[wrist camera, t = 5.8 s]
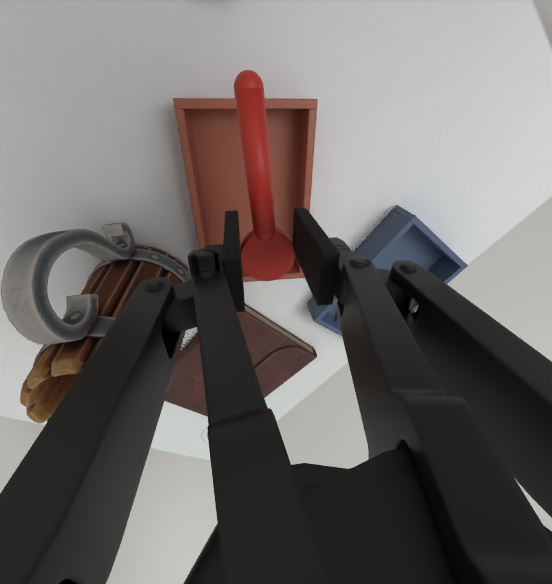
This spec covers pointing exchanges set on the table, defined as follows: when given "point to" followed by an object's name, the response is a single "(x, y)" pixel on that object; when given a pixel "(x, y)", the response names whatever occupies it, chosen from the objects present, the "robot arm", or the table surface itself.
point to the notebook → (264, 353)
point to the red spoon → (259, 186)
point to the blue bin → (398, 256)
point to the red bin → (231, 170)
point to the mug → (74, 304)
